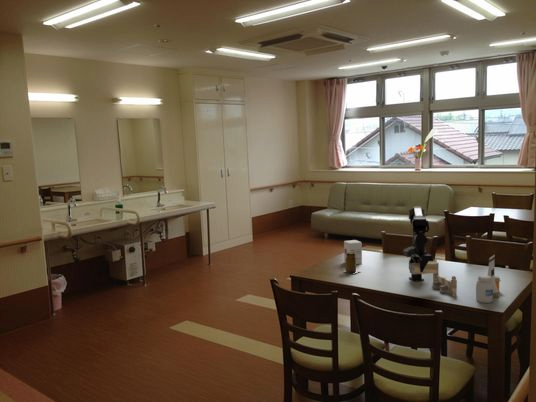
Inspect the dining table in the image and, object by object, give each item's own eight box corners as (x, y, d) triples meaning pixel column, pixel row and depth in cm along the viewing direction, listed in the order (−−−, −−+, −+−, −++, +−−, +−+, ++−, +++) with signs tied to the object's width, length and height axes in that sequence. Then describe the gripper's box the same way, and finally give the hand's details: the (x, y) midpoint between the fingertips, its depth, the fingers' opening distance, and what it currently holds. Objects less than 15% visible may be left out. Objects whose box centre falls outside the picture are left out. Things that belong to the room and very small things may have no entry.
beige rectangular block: (409, 272, 246) (409, 263, 245) (434, 270, 248) (434, 261, 247) (413, 274, 242) (413, 265, 241) (438, 272, 244) (438, 263, 243)
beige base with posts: (427, 285, 257) (427, 267, 255) (436, 284, 257) (436, 266, 256) (447, 296, 237) (447, 277, 236) (456, 295, 238) (457, 276, 236)
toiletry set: (490, 304, 223) (491, 262, 221) (473, 301, 228) (474, 260, 226) (504, 291, 242) (505, 252, 240) (488, 289, 247) (489, 251, 245)
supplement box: (343, 262, 313) (343, 240, 311) (355, 261, 316) (355, 239, 314) (350, 265, 304) (349, 243, 303) (362, 264, 307) (362, 242, 305)
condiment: (349, 270, 294) (349, 251, 292) (361, 272, 288) (360, 253, 287) (342, 272, 288) (342, 253, 287) (354, 274, 283) (354, 255, 281)
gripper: (397, 239, 251) (397, 267, 253) (413, 246, 233) (413, 276, 234) (417, 238, 252) (417, 266, 254) (434, 244, 234) (433, 275, 236)
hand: (419, 271), depth 244 cm, fingers closed on beige rectangular block, 4 cm apart
